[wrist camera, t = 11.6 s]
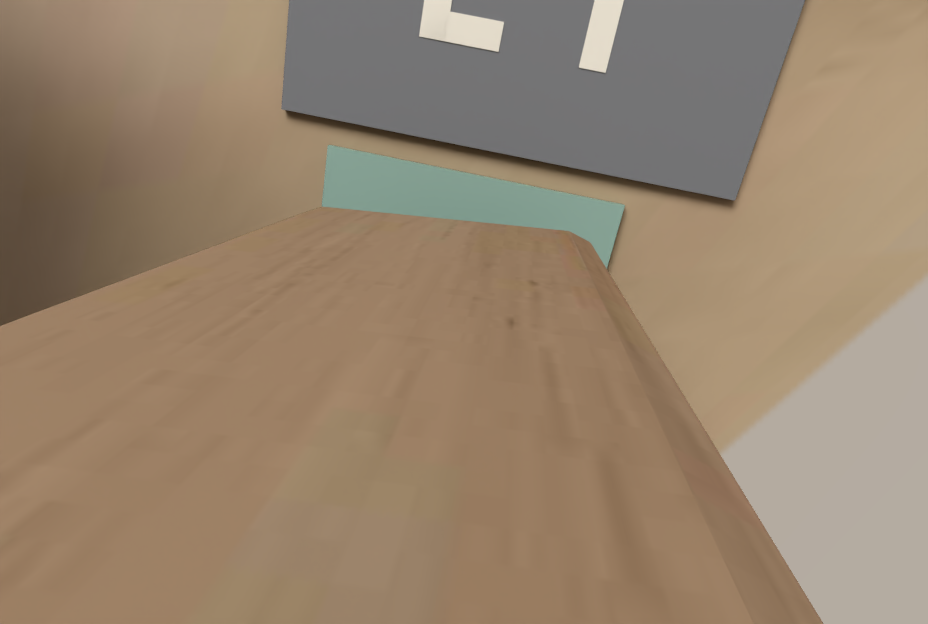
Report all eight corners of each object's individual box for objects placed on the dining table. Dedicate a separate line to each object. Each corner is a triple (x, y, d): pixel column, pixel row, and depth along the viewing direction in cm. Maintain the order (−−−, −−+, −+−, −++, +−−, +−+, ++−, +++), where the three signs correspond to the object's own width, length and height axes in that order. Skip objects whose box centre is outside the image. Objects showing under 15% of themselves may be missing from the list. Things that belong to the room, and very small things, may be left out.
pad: (303, 403, 26) (301, 406, 26) (330, 145, 22) (327, 145, 22) (551, 457, 26) (551, 461, 25) (623, 204, 22) (624, 205, 21)
